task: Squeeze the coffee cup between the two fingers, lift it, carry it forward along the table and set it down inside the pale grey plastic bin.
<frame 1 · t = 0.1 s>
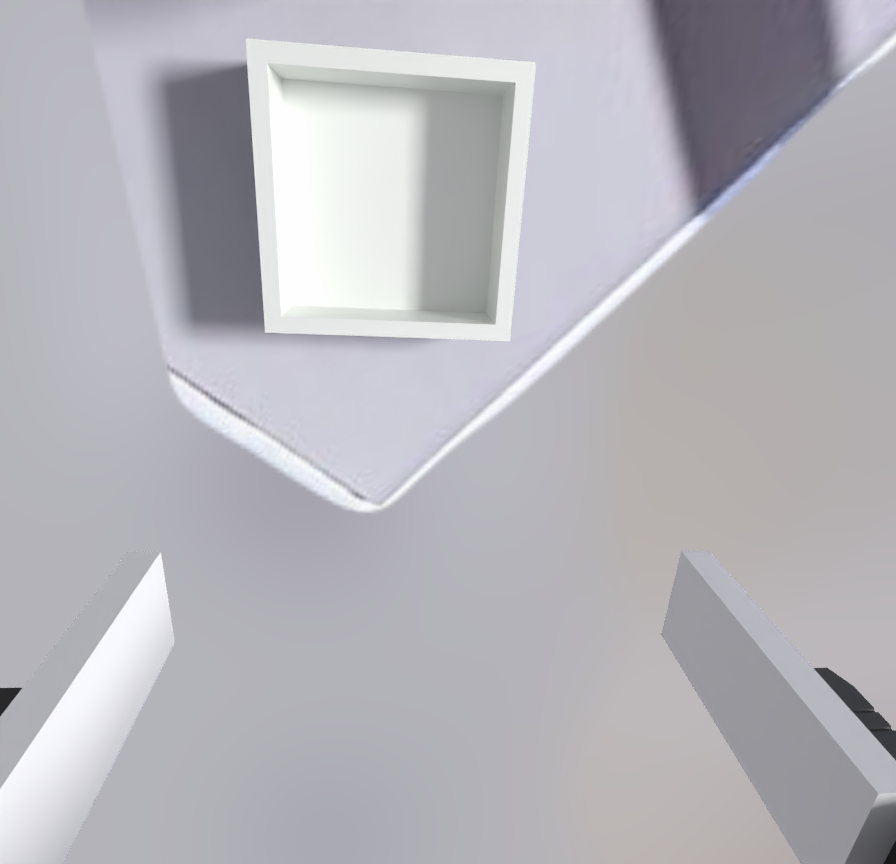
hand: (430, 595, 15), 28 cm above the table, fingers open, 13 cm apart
bin: (392, 205, 37), on the table
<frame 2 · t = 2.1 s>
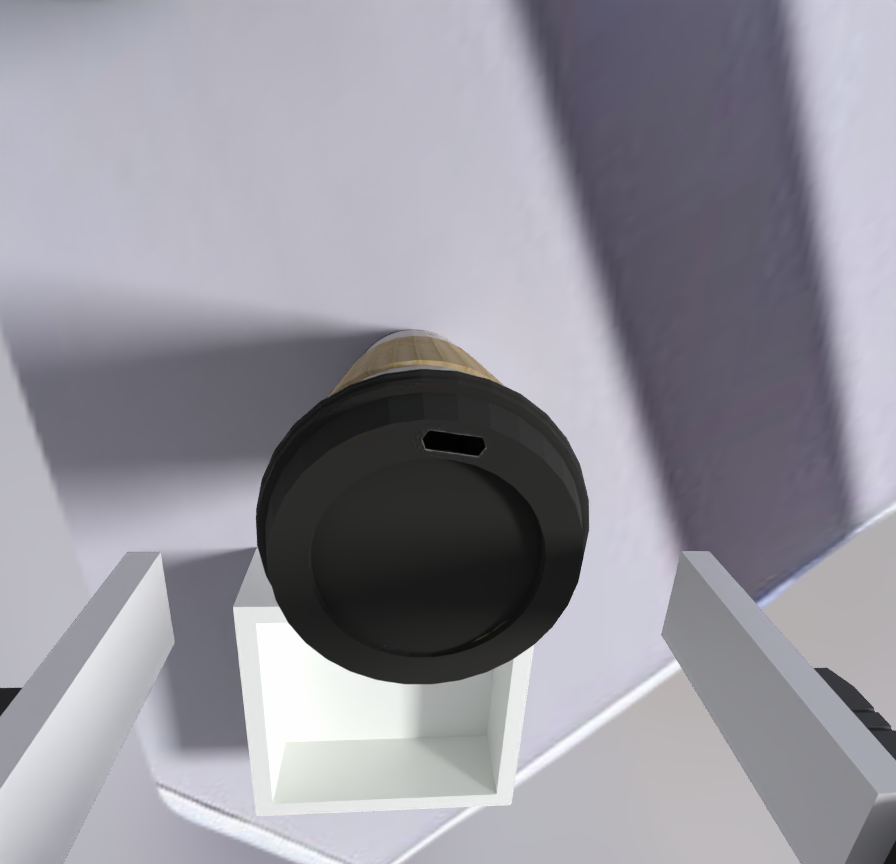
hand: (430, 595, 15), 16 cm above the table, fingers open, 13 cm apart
coffee cup: (414, 388, 29), on the table
bin: (389, 649, 35), on the table
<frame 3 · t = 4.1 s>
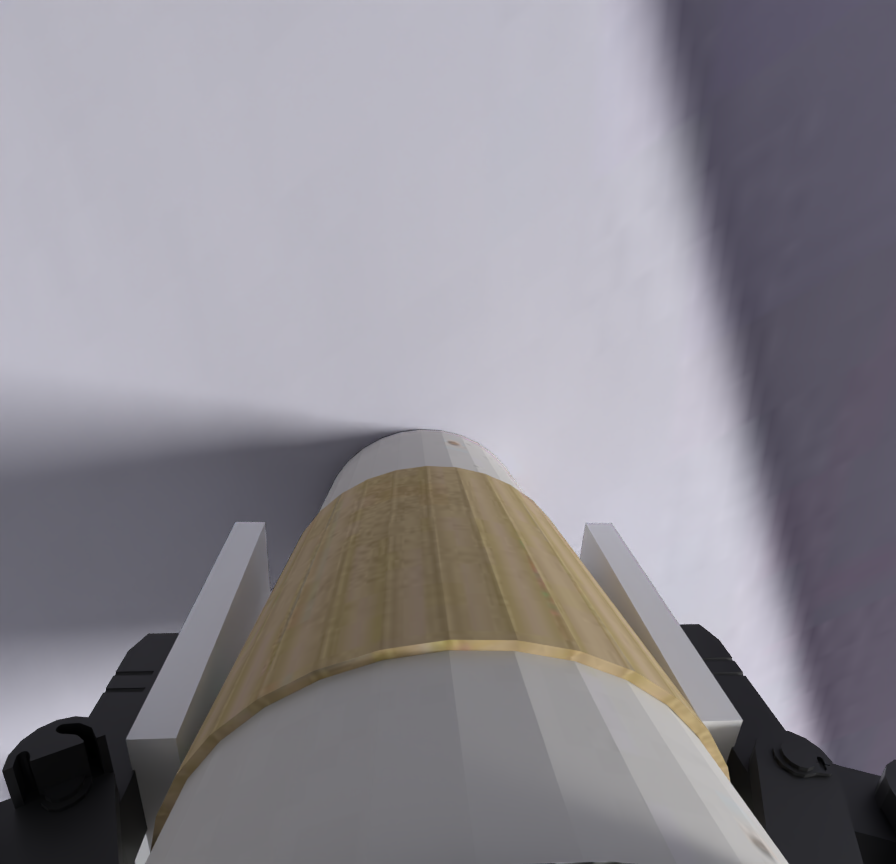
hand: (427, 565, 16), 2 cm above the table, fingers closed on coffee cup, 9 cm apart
coffee cup: (423, 516, 18), on the table, touching gripper
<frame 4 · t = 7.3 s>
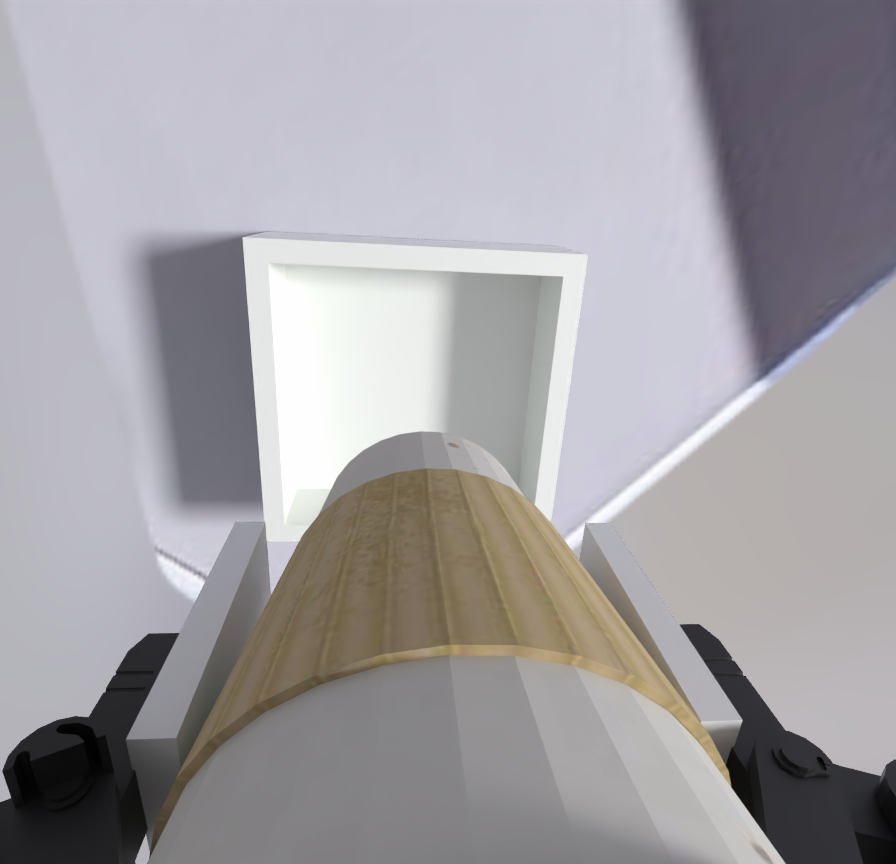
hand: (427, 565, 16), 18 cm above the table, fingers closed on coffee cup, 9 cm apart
coffee cup: (423, 518, 18), point 15 cm above the table, touching gripper
bin: (412, 378, 32), on the table
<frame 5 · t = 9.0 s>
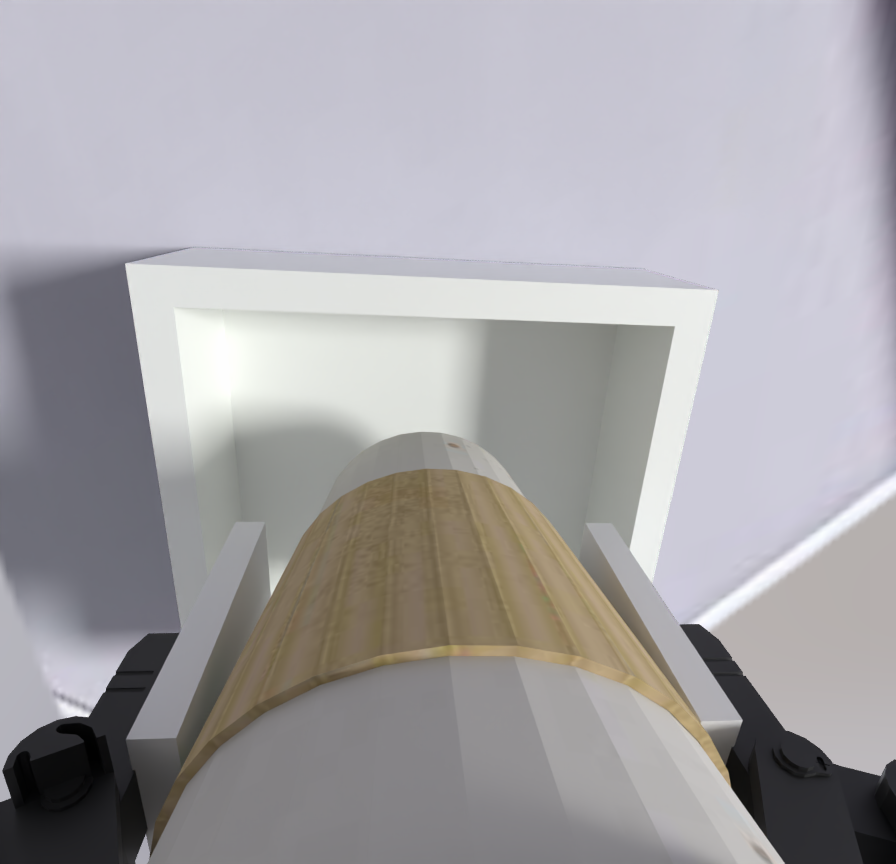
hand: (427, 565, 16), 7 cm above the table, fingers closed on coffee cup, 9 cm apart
coffee cup: (423, 518, 18), point 4 cm above the table, touching gripper
bin: (419, 462, 22), on the table
when the fingers open (5 cm above the table, at t = 10.3 s): coffee cup moves 3 cm, point 2 cm above the table.
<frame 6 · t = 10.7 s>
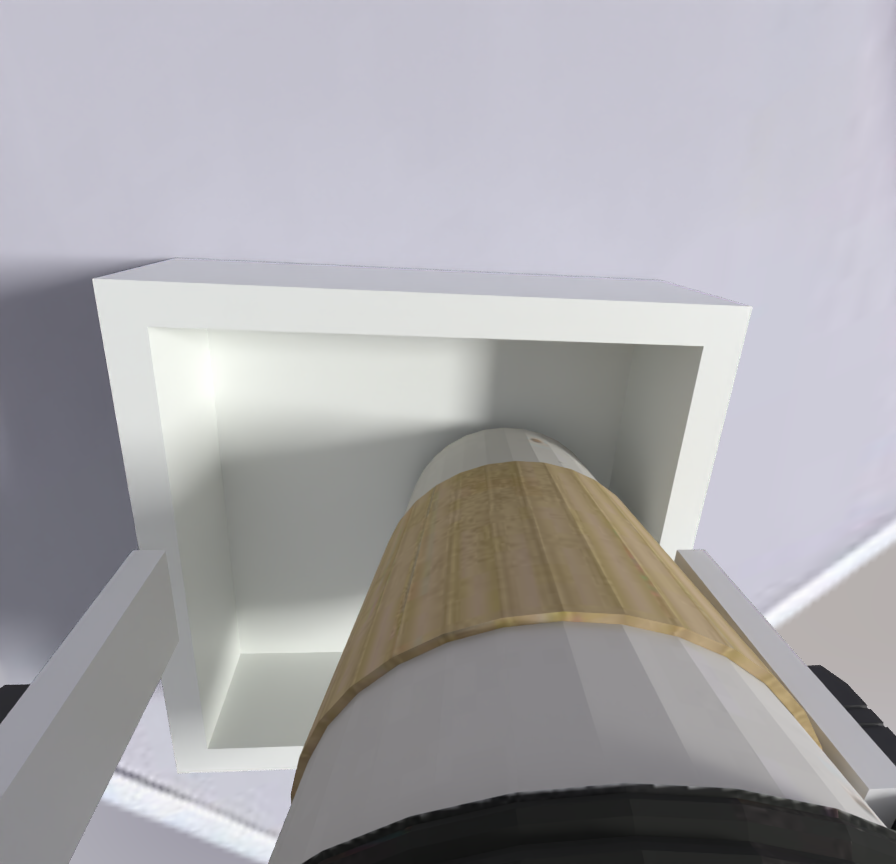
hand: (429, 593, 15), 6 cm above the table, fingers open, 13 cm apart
coffee cup: (503, 511, 19), point 2 cm above the table, touching gripper
bin: (420, 486, 20), on the table
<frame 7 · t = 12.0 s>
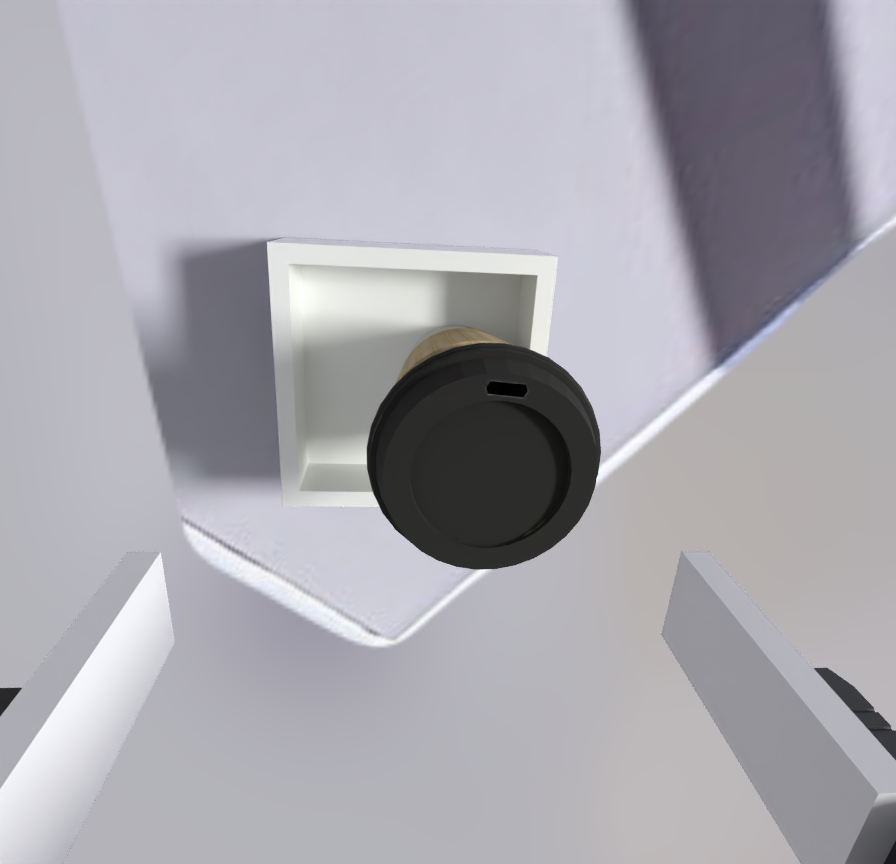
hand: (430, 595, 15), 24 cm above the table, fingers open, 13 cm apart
coffee cup: (454, 372, 36), point 1 cm above the table, touching bin
bin: (410, 366, 37), on the table
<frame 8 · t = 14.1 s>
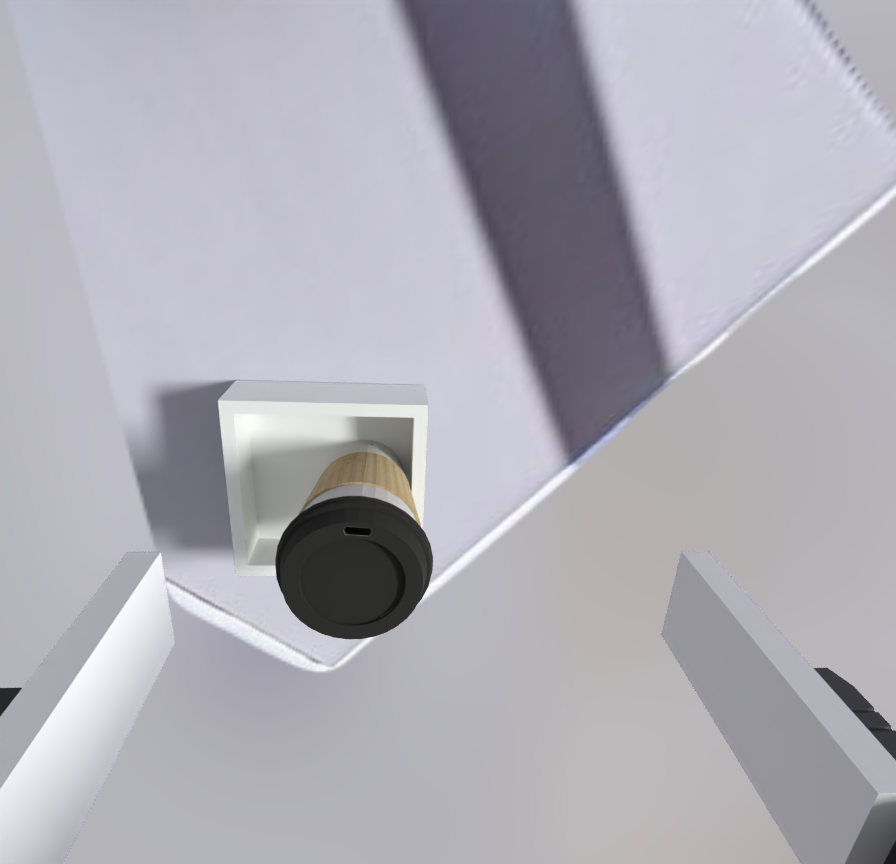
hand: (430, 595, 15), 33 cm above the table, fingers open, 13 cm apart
coffee cup: (366, 472, 48), point 1 cm above the table, touching bin
bin: (333, 466, 49), on the table
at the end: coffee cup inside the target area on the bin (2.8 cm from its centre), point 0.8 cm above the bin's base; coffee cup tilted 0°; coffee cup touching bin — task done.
